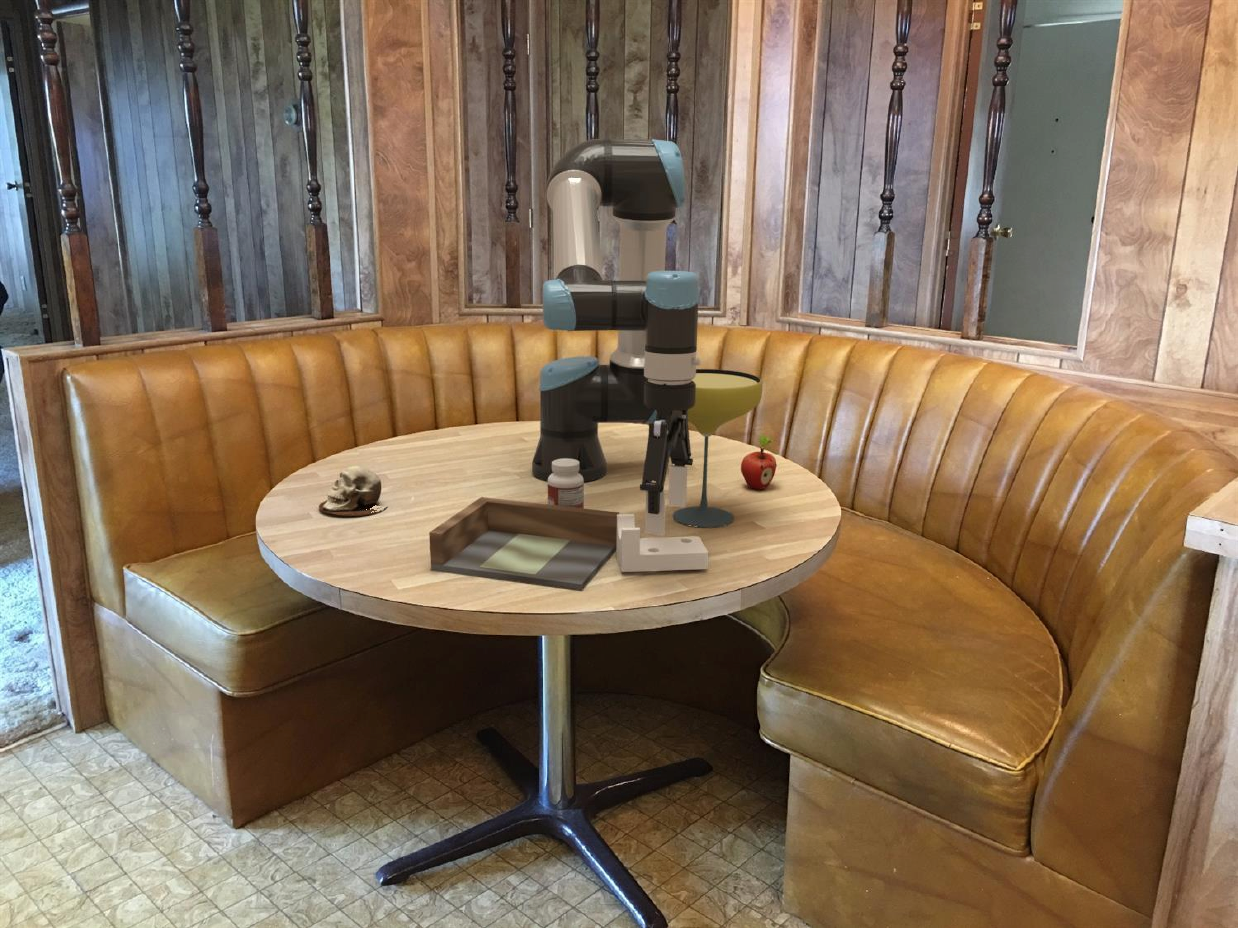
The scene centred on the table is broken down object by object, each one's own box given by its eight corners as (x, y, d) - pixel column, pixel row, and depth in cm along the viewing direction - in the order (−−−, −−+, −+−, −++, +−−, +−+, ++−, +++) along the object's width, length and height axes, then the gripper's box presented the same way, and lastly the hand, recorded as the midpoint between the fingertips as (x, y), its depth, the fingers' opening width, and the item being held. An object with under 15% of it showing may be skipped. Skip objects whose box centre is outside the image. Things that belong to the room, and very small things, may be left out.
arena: (482, 530, 156) (481, 496, 155) (618, 547, 150) (618, 512, 148) (431, 569, 140) (429, 532, 138) (581, 590, 133) (581, 551, 132)
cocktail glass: (728, 543, 152) (735, 393, 145) (633, 522, 161) (635, 380, 154) (770, 512, 167) (779, 375, 160) (681, 495, 176) (685, 365, 169)
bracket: (621, 577, 139) (622, 530, 137) (616, 560, 145) (616, 514, 143) (707, 574, 140) (709, 527, 138) (698, 557, 147) (699, 512, 145)
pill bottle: (547, 518, 163) (546, 457, 160) (582, 517, 164) (582, 456, 161) (548, 530, 157) (547, 467, 154) (584, 529, 158) (584, 466, 155)
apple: (777, 493, 178) (780, 443, 176) (742, 493, 178) (744, 442, 175) (771, 481, 186) (774, 433, 183) (737, 481, 186) (739, 432, 183)
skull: (334, 519, 158) (316, 467, 161) (323, 544, 166) (306, 494, 169) (400, 504, 165) (381, 454, 168) (387, 529, 173) (369, 481, 176)
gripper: (674, 397, 122) (670, 549, 128) (712, 368, 145) (708, 498, 151) (619, 393, 124) (618, 543, 130) (666, 365, 147) (663, 493, 153)
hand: (666, 519), depth 140 cm, fingers open, 13 cm apart
